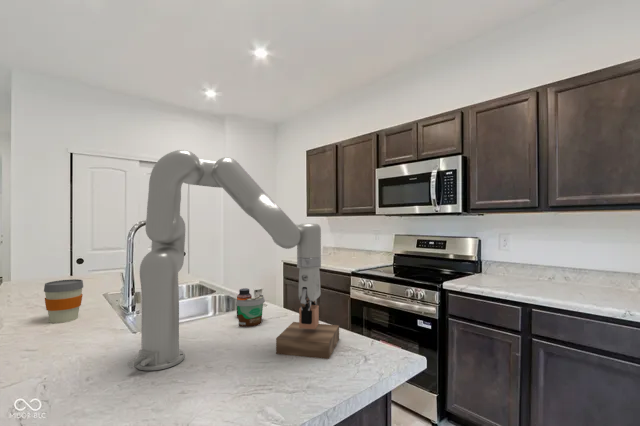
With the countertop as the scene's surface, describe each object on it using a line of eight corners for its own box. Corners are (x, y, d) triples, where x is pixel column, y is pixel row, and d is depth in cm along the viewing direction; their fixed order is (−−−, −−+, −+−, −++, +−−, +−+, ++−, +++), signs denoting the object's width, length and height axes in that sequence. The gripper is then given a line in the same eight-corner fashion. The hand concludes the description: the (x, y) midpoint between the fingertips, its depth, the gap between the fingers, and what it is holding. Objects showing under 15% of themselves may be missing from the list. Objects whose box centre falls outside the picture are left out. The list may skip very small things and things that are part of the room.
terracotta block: (314, 329, 101) (314, 309, 101) (299, 327, 102) (299, 308, 102) (318, 324, 106) (318, 305, 106) (303, 323, 107) (303, 304, 107)
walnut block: (328, 360, 94) (328, 343, 94) (276, 355, 98) (276, 338, 98) (339, 340, 110) (339, 325, 110) (293, 336, 114) (293, 321, 114)
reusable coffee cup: (88, 318, 134) (89, 281, 135) (51, 326, 124) (51, 286, 124) (75, 313, 141) (75, 278, 141) (38, 321, 130) (38, 283, 131)
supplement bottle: (244, 320, 131) (244, 291, 131) (233, 317, 134) (233, 289, 134) (254, 316, 136) (254, 288, 136) (244, 314, 139) (244, 287, 139)
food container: (246, 330, 119) (246, 302, 119) (235, 327, 122) (235, 300, 123) (271, 321, 128) (271, 296, 129) (260, 319, 132) (260, 293, 132)
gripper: (313, 267, 95) (314, 330, 95) (326, 259, 112) (326, 313, 111) (289, 266, 97) (289, 328, 97) (304, 259, 114) (305, 312, 113)
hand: (309, 320), depth 104 cm, fingers open, 5 cm apart
